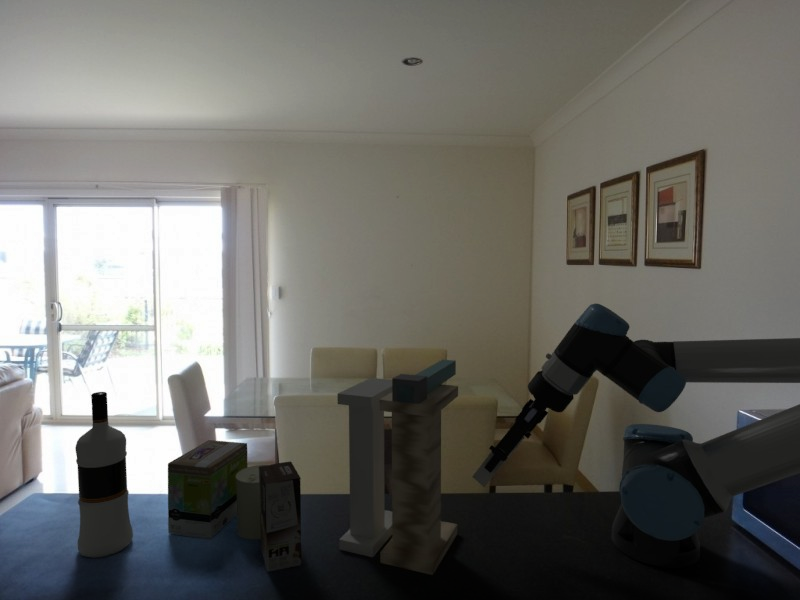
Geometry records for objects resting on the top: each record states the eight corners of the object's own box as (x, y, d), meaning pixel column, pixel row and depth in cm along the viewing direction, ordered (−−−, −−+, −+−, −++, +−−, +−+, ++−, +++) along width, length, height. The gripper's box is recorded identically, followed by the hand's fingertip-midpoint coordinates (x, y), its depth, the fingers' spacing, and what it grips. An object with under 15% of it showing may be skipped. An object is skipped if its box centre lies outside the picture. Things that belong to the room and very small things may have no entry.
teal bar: (460, 374, 113) (460, 356, 113) (419, 403, 90) (419, 380, 90) (438, 372, 115) (438, 354, 115) (392, 401, 92) (392, 378, 92)
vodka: (73, 564, 95) (65, 401, 93) (82, 539, 104) (75, 389, 102) (131, 553, 99) (124, 395, 97) (135, 530, 107) (128, 384, 105)
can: (227, 536, 105) (226, 478, 104) (251, 515, 114) (249, 460, 113) (270, 542, 103) (268, 482, 102) (290, 519, 112) (289, 464, 111)
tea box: (212, 540, 104) (210, 467, 102) (167, 535, 106) (164, 463, 104) (249, 505, 118) (248, 441, 117) (208, 501, 120) (206, 438, 119)
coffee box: (303, 565, 95) (301, 478, 94) (266, 573, 92) (264, 483, 91) (293, 540, 103) (292, 460, 102) (259, 547, 101) (257, 464, 100)
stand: (401, 522, 110) (401, 380, 108) (372, 557, 97) (371, 397, 95) (371, 516, 113) (370, 377, 111) (339, 549, 100) (337, 393, 98)
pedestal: (457, 533, 106) (458, 385, 103) (432, 575, 92) (432, 405, 90) (410, 524, 109) (410, 381, 107) (380, 562, 96) (379, 399, 93)
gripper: (552, 359, 106) (493, 436, 112) (523, 381, 83) (450, 477, 90) (584, 383, 103) (522, 461, 109) (563, 413, 81) (485, 509, 87)
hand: (489, 468), depth 99 cm, fingers open, 13 cm apart
